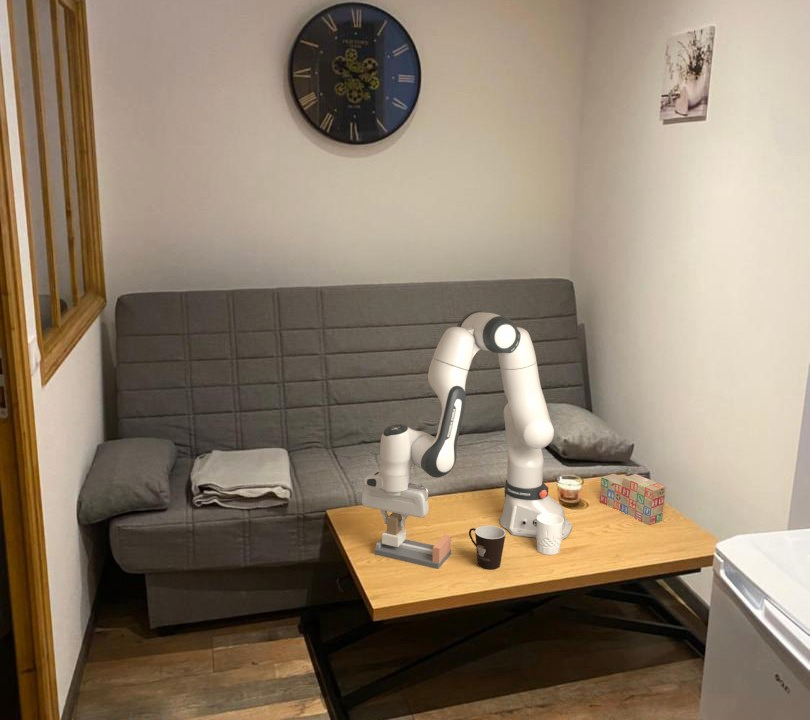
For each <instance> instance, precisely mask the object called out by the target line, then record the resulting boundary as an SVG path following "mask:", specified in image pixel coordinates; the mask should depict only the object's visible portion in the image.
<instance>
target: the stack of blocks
mask: <svg viewBox="0 0 810 720" xmlns="http://www.w3.org/2000/svg"><path fill="white" fill-rule="evenodd" d="M665 494H666V486H665V485H663V484H660V483H658V482H657V481H656V480H655V481H654V480H653V479H649V478H646V477H644V476H641V475H640V474H638V473H634V474H631V475H628V476H627V475H626V476H624V477H623V476H621V475H619V474H617V473H616V474H615V473H612V474H608V475H604V476H602V477H601V480H600V497H599V502H600V503H601V502H602V503H601V504H603V503H604V505H605V504H606V505H605V506H607V505H608V506H607V507H609V506H611V507H613V508H612V509H613V510H615V509H617V510H619V511H621V512H620V513H622V512H624V513H625V514H624V513H623V514H624V515H626V514H627V515H626V516H628V515H630V516H632V517H631V518H633V517H634V518H633V519H635V520H637V519H638V520H637V521H639V522H641V523H643V524H645V525H646V526H647V525H648V526H651V525H654V524H657V523H658V524H659V523H660V521H661V522H662V521H663V512H664V504H665V497H666V495H665ZM611 507H610V508H611ZM617 510H616V511H617ZM619 511H618V512H619ZM630 516H629V517H630Z"/></svg>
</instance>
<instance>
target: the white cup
mask: <svg viewBox="0 0 810 720" xmlns="http://www.w3.org/2000/svg"><path fill="white" fill-rule="evenodd" d="M563 524H564V519H563V518H562V517H561V516H559V515H556V514H552V513H544V514H540V515H538V516H537V527H536V528H537V529H536V537H537V538H536V550H537V552H539V553H540V554H543V555H545V556H547V555H548V556H554V555H558V554H559V553H560V551H561V543H562V540H563V539H562V533H563Z"/></svg>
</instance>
